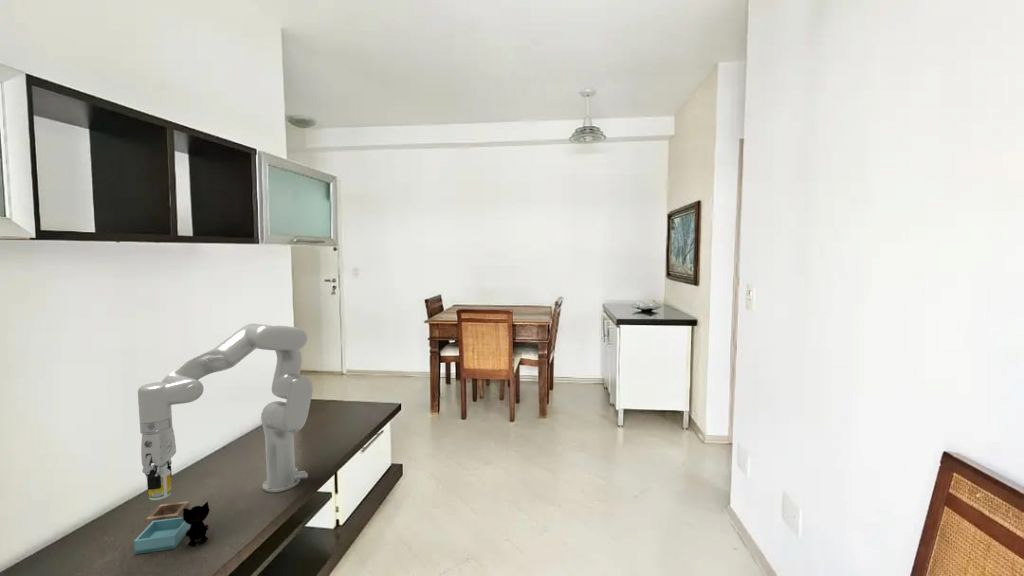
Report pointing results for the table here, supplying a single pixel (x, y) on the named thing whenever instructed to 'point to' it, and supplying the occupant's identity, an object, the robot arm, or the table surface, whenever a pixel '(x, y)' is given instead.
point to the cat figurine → (196, 523)
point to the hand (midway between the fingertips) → (160, 483)
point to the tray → (161, 535)
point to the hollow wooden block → (167, 512)
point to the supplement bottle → (162, 484)
